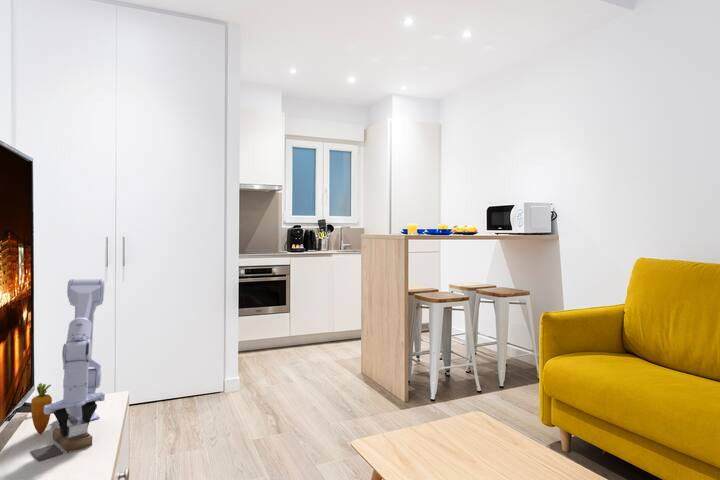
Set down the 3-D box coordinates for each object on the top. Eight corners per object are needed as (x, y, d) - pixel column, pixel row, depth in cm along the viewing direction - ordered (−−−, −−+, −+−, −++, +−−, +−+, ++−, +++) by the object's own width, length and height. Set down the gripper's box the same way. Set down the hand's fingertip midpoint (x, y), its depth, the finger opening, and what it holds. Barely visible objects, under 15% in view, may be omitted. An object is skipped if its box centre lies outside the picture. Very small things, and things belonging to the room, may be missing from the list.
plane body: (52, 438, 128) (53, 417, 128) (76, 431, 132) (76, 411, 132) (67, 452, 120) (68, 430, 120) (92, 445, 125) (92, 423, 125)
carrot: (32, 432, 131) (34, 381, 131) (52, 429, 133) (54, 379, 133) (27, 439, 126) (29, 386, 126) (48, 437, 128) (50, 385, 128)
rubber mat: (30, 452, 120) (30, 451, 120) (54, 445, 124) (54, 444, 124) (38, 461, 115) (39, 460, 115) (63, 454, 119) (63, 452, 119)
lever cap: (61, 433, 125) (61, 418, 125) (79, 428, 129) (79, 414, 129) (69, 440, 122) (69, 425, 122) (87, 435, 125) (87, 420, 125)
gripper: (50, 394, 117) (48, 445, 117) (109, 381, 128) (108, 428, 128) (41, 387, 121) (40, 437, 122) (99, 375, 133) (98, 421, 133)
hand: (74, 432), depth 125 cm, fingers closed on lever cap, 4 cm apart
